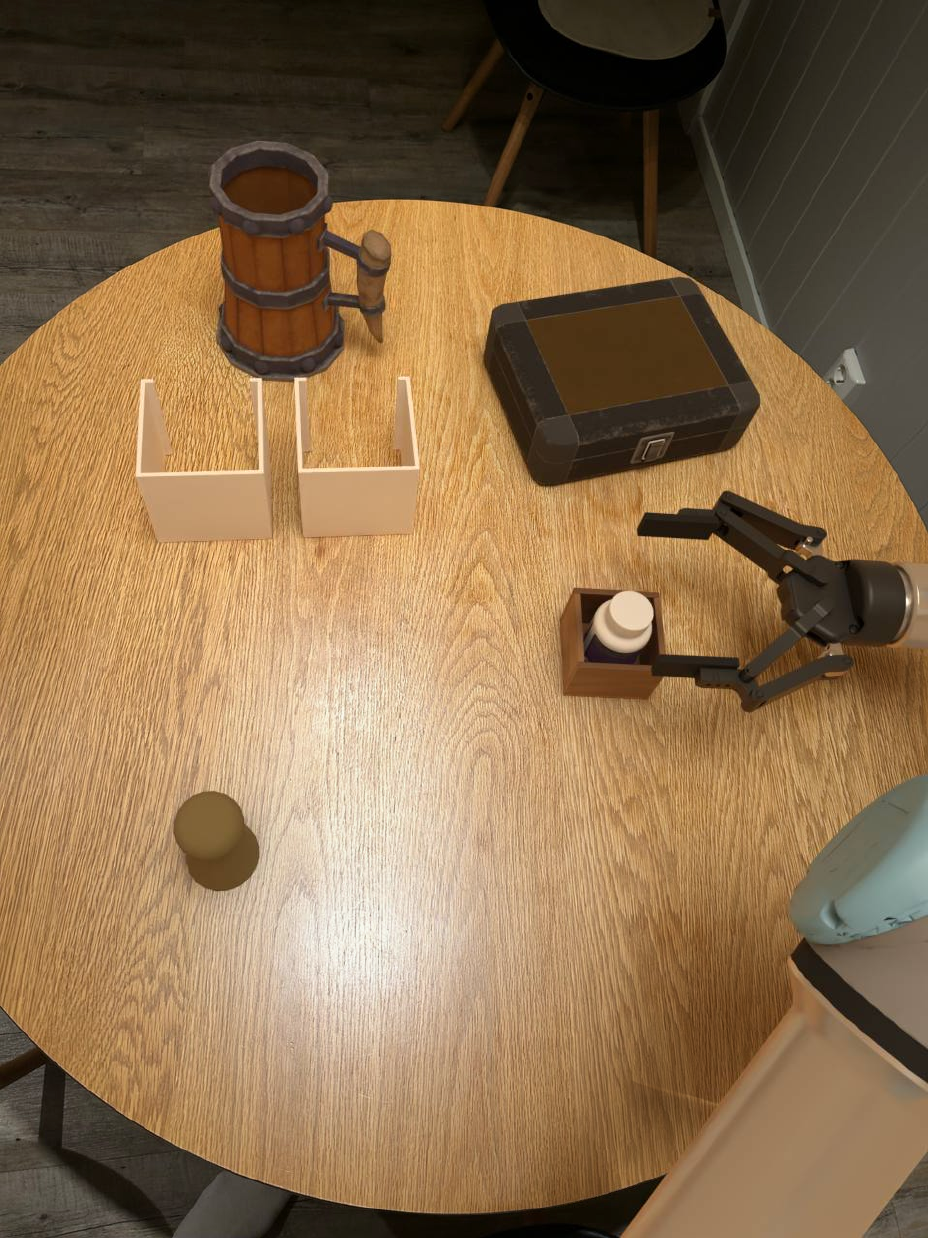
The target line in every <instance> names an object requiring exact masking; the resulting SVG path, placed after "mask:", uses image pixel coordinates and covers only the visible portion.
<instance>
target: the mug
mask: <svg viewBox="0 0 928 1238" xmlns="http://www.w3.org/2000/svg"><path fill="white" fill-rule="evenodd" d="M329 175H330V174H329V171H328V170H327V168H326V167H325V166H323V165H322V164H321V162H320V161H319V160H318V159H317V157H316V156H315V155H314V154H312V153H310V152H308V151H306V150H303V149H301V148H299V147H297V146H295V145H292V144H290V143H288V142H278V141H266V140H256V141H251V142H249V143H245V144H242V145H238V146H234V147H231V148H229V149H228V150H227V151H226V152H225V153H224V154H222V155H221V156H220V157H219V158H218V159H217V160H216V161H215V162H213V164H211V167H210V168H209V170H208V172H207V178H208V180H209V185H208V188H209V194H210V202H209V208H210V210H211V212H212V213H213V214H214V215H216V216H217V219H218V220H217V221H218V227H219V234H220V241H221V255H220V263H219V264H220V269H221V277H222V279H223V281H224V283H223V284H224V300H223V301H222V302H221V303H220V304H219V306H218V313H219V314H218V321H217V322H218V323H217V330H216V343H217V345H218V346H219V348H220V349H221V351H222V352H223V354H224V356H225V357H226V359H227V361H228V362H229V364H230V366H232V367H234V368H236V369H237V370H240V371H242V372H244V373H246V374H248V375H250V376H251V377H252V378H262V381H266V382H284V383H285V382H287V383H289V382H290V383H295V380H294V378H306V379H308V378H310V377H313V376H315V375H318V374H321V373H323V372H326V371H327V370H328V369H329V368H330V367H331V366H332V364H333V363H334V362H335V361H336V359H337V358H338V357H339V356H340V355H341V354H342V352H343V351H344V350H345V324H346V321H345V319H344V318H343V317H342V315H341V314H340V307H343V308H350V309H358V311H359V312H360V313H361V314H362V316H363V318H364V321H365V323H366V326H367V328H368V331H369V333H370V334H371V335H372V337H373V338H374V339H375V341H377V342H378V343H379V344H381V345H382V344H384V333H383V315H384V313H385V311H386V310H387V304H386V296H385V294H384V289H385V285H386V279H387V275H388V272H389V271H390V267H391V265H392V256H393V254H392V253H393V252H392V244H391V243H390V242H389V240H388V239H387V238H386V236H385V235H384V233H381V232H380V231H376V230H373V229H369V230H368V231H366V232H365V233H363V234H362V238H361V243H360V245H358V244H356V243H354V242H352V241H350V240H348V239H346V238H344V237H341V236H339V235H338V234H336V233H333V232H331V231H329V230H328V229H329V228H328V222H326V215H327V214H329V213H330V212H331V211H332V208H333V206H334V203H333V200H332V198H331V196H330V195H329V194H330V193H329V192H330V189H329V177H330V176H329ZM330 249H331V250H334V251H336V252H338V253H340V254H343V255H345V256H347V257H349V258H351V259H353V260H355V264H356V287H357V294H350V293H349V294H348V293H340V292H333V288H332V283H331V276H330V269H331V267H330V266H331V258H330V257H331V256H330V254H331V252H330Z"/></svg>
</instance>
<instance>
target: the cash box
mask: <svg viewBox="0 0 928 1238" xmlns="http://www.w3.org/2000/svg"><path fill="white" fill-rule="evenodd" d="M484 346H485V347H484V350H483V351H484V353H483V362H484V365H485V367H486V369H487V372H488V374H489V376H490V379H491V381H492V384H493V386H494V388H495V391H496V393H497V396H498V399H499V400H500V403H501V405H502V408H503V410H504V412H505V415H506V417H507V420H508V423H509V425H510V427H511V430H512V432H513V435H514V436H515V440H516V441H517V444H518V446H519V449H520V451H521V453H522V455H523V458H524V461H525V463H526V465H527V468H528V470H529V472H530V475H531V477H532V478H533V479H534V480H535V481H536V482H537V483H538V484H539V485H546V486H554V485H559V484H564V483H569V482H573V481H578V480H583V479H589V478H594V477H599V476H603V475H609V474H613V473H618V472H622V471H627V470H628V471H629V470H632V469H637V468H642V467H646V466H647V467H648V466H651V465H657V464H661V463H667V462H672V461H677V460H680V459H681V460H682V459H686V458H691V457H695V456H700V455H705V454H710V453H716V452H720V451H724V450H729V449H731V448H732V447H734V446H736V444H738V443H739V442H740V441H741V439H742V437H743V435H744V434H745V432H746V431H747V429H748V427H749V425H750V424H751V422H752V421H753V419H754V417H755V416H756V414H757V412H758V410H759V409H760V407H761V395H760V393H759V391H758V389H757V387H756V386H755V383H754V382H753V380H752V378H751V377H750V375H749V373H748V371H747V369H746V368H745V365H744V364H743V362H742V360H741V359H740V357H739V355H738V354H737V352H736V350H735V348H734V347H733V344H732V343H731V341H730V340H729V338H728V336H727V334H726V332H725V330H724V328H723V327H722V325H721V323H720V322H719V320H718V318H717V316H716V314H715V313H714V311H713V310H712V308H711V306H710V304H709V302H708V301H707V299H706V297H705V295H704V294H703V292H702V290H701V288H700V286H699V285H698V284H697V283H696V282H695V281H694V279H691V278H690V277H685V276H675V277H668V278H661V279H654V280H650V281H649V280H648V281H641V282H636V283H635V282H634V283H630V284H621V285H615V286H610V287H603V288H596V289H591V290H590V289H589V290H584V291H577V292H571V293H563V294H556V295H551V296H545V297H538V298H531V299H526V300H519V301H512V302H506V303H501V304H499V305H497V306H495V307H493V308H492V310H491V314H490V319H489V324H488V330H487V334H486V340H485V345H484Z"/></svg>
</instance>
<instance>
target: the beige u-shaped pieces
mask: <svg viewBox="0 0 928 1238" xmlns="http://www.w3.org/2000/svg"><path fill="white" fill-rule="evenodd" d="M410 378H411V377H410V376H397V384H396V385H397V386H396V398H395V414H394V426H393V428H394V429H393V443H392V450H393V451H399V452H400V463H401V466H399V465H398V466H364V467H361V466H360V467H359V466H358V467H325V468H322V467H321V468H305V460H304V457H305V456H304V453H308V452H309V453H310V452H311V438H310V436H311V435H310V420H309V419H310V418H309V402H308V383H307V382H308V381H307V378H294V380H295V382H294V402H295V404H294V405H295V428H296V429H295V430H296V449H297V450H296V452H297V475H298V488H299V489H298V490H299V500H300V501H299V502H300V513H301V527H302V538H329V537H330V538H332V537H356V536H357V537H358V536H360V537H361V536H383V535H384V536H385V535H386V536H387V535H388V536H389V535H411V534H413V531H414V524H415V523H414V522H415V515H416V506H417V499H418V498H417V497H418V489H419V480H420V472H421V468H420V467H421V466H420V458H419V450H418V440H417V431H416V423H415V422H416V421H415V414H414V405H413V393H412V387H411V379H410ZM249 387H250V393H251V394H250V395H251V403H252V410H253V417H254V425H255V432H256V439H257V449H258V469H245V470H243V469H242V470H241V469H240V470H238V469H237V470H205V471H204V470H203V471H200V470H199V471H166V456H173V454H174V452H173V447H172V443H171V439H170V436H169V433H168V429H167V425H166V421H165V417H164V414H163V410H162V406H161V402H160V398H159V393H158V390H157V387H156V383H155V380H154V379H153V378H146V379H145V378H143V379H140V387H139V388H140V389H139V390H140V391H139V407H138V408H139V409H138V428H137V445H136V463H135V464H136V465H135V479H136V481H137V484H138V485H137V486H138V487H139V491H140V494H141V497H142V499H143V503H144V506H145V508H146V511H147V515H148V517H149V520H150V523H151V526H152V529H153V532H154V535H155V538H156V541H157V543H158V544H161V543H185V542H186V543H189V542H191V543H192V542H193V543H194V542H218V541H219V542H220V541H241V540H242V541H245V540H272V539H273V518H272V516H273V515H272V513H273V512H272V511H273V510H272V478H271V477H272V475H271V471H272V470H271V447H270V446H271V445H270V437H269V429H268V421H267V420H268V419H267V412H266V404H265V403H266V402H265V395H264V394H265V393H264V387H263V380H262V378H255V377H250V378H249Z"/></svg>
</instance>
